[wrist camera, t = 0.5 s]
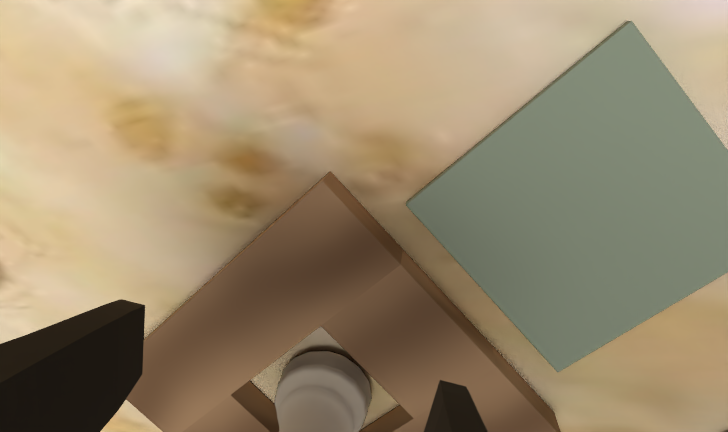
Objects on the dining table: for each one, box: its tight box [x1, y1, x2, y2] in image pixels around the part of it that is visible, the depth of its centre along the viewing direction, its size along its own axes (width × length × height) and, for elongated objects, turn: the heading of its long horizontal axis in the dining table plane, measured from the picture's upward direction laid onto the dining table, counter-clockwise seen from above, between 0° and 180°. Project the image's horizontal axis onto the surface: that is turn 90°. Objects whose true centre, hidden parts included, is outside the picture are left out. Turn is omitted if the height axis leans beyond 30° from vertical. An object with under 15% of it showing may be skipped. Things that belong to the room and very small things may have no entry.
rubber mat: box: [406, 21, 728, 372], centre depth 19 cm, size 10×10×1 cm
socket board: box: [126, 172, 560, 432], centre depth 22 cm, size 15×15×2 cm
